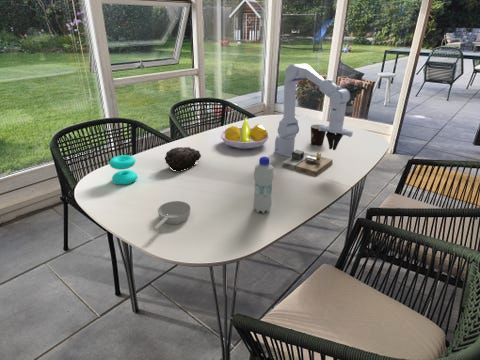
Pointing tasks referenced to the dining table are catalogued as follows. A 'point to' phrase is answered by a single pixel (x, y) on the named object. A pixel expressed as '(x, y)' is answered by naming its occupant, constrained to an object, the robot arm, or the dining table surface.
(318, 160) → the bolt
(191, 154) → the pine cone
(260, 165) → the bottle
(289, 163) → the wooden latch board
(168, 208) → the small pan
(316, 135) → the coffee mug
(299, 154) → the lock hardware
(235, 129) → the fruit bowl
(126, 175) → the donuts
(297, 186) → the dining table surface
